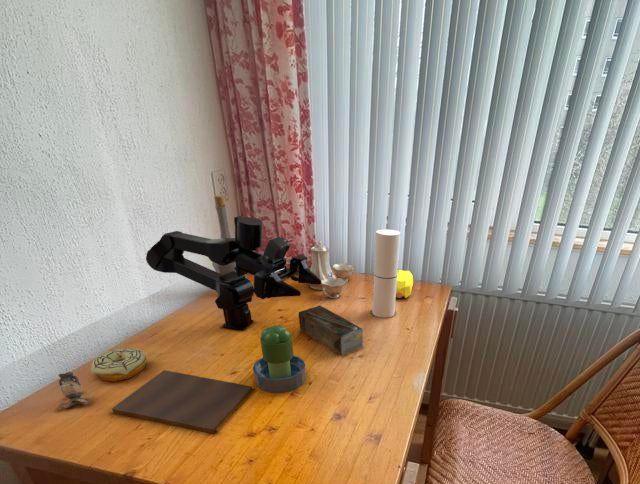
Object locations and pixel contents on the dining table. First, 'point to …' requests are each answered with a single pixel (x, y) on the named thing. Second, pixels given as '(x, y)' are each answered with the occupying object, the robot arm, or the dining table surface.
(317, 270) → the chinaware
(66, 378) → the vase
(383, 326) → the dining table surface
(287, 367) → the broccoli
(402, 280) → the orange-capped yellow polyhedron
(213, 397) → the board
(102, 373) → the decorated donut
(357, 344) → the beverage carton
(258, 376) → the bowl
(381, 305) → the cylindrical container
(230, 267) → the bottle
